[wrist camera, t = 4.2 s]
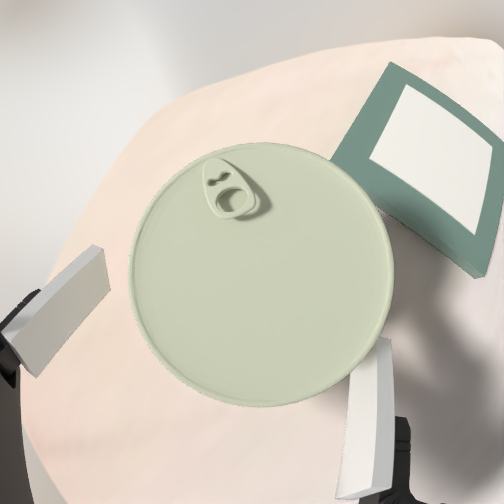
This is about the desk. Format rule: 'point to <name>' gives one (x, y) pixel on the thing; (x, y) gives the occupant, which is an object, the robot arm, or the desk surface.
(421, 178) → the board
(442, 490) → the desk surface
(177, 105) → the desk surface
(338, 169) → the can
